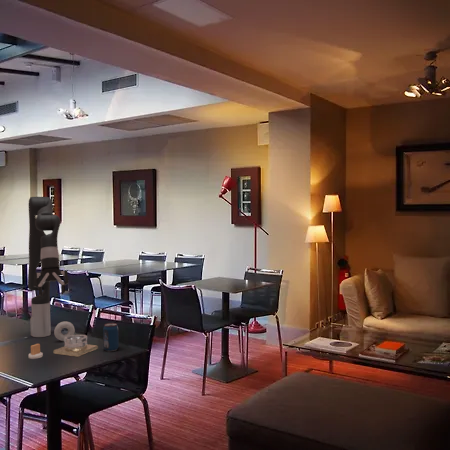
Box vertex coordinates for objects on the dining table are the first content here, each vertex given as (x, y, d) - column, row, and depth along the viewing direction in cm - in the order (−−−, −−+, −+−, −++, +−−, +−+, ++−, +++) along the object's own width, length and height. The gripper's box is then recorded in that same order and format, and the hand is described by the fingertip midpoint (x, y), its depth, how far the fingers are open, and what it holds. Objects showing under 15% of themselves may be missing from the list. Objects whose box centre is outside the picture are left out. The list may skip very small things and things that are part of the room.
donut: (54, 343, 254) (54, 323, 253) (54, 341, 257) (53, 321, 257) (75, 340, 258) (75, 321, 257) (74, 339, 261) (74, 319, 261)
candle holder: (53, 353, 235) (53, 339, 234) (74, 346, 247) (73, 332, 247) (78, 356, 229) (77, 342, 229) (97, 348, 242) (97, 335, 242)
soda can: (119, 347, 243) (119, 322, 243) (117, 351, 236) (116, 325, 236) (105, 347, 243) (104, 322, 243) (102, 351, 236) (101, 326, 236)
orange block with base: (25, 358, 228) (25, 345, 228) (35, 354, 234) (35, 342, 234) (35, 359, 226) (35, 347, 226) (45, 355, 231) (45, 343, 231)
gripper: (66, 259, 229) (69, 295, 225) (32, 261, 225) (34, 298, 220) (67, 255, 222) (69, 292, 218) (32, 257, 218) (33, 295, 214)
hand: (51, 295), depth 219 cm, fingers open, 8 cm apart
